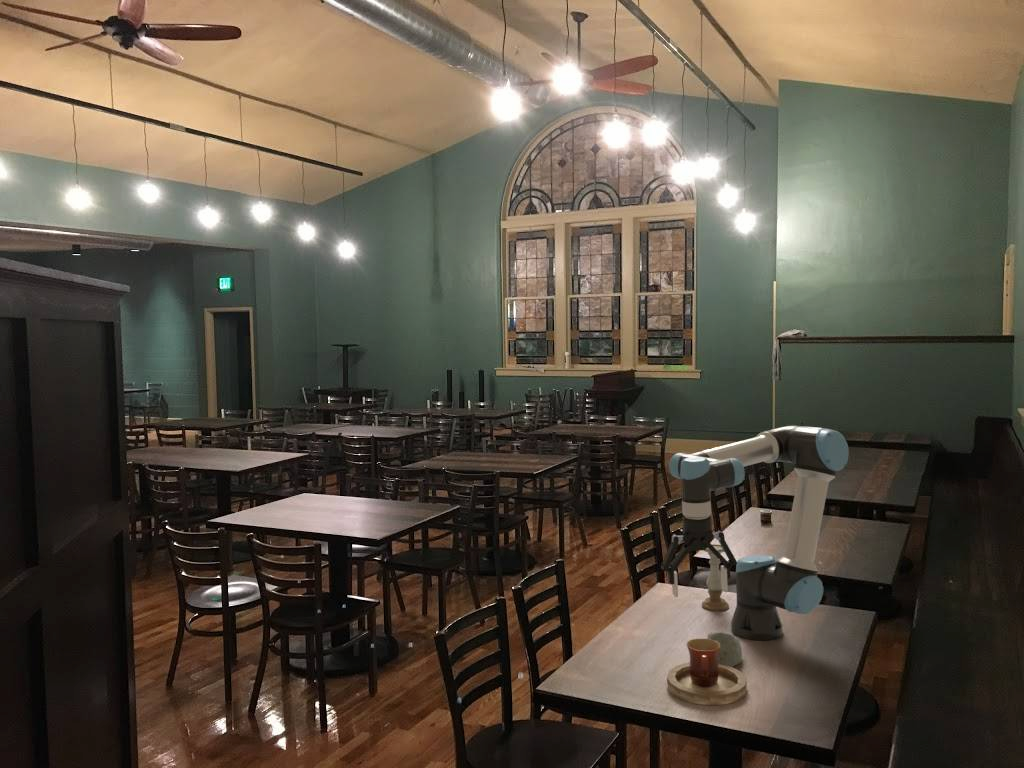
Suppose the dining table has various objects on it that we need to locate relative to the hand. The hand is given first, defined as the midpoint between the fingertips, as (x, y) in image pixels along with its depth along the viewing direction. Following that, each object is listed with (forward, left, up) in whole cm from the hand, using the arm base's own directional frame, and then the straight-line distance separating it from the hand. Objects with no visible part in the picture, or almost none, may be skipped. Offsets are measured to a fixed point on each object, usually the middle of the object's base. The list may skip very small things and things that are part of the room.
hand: (700, 593), depth 225 cm
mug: (+1, +7, -22) cm, 24 cm away
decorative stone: (-9, -9, -23) cm, 27 cm away
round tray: (+1, +7, -23) cm, 24 cm away
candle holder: (-19, -52, -23) cm, 60 cm away
